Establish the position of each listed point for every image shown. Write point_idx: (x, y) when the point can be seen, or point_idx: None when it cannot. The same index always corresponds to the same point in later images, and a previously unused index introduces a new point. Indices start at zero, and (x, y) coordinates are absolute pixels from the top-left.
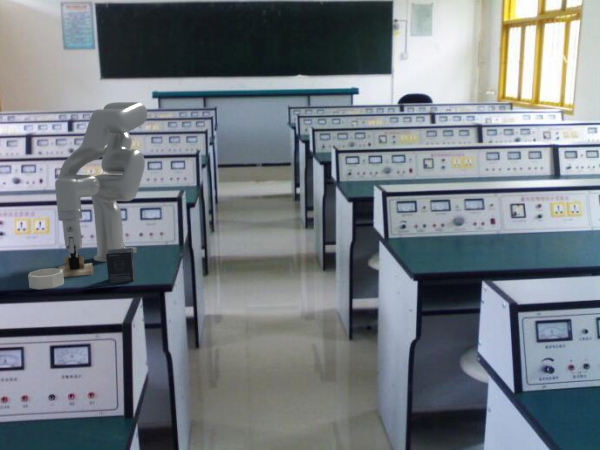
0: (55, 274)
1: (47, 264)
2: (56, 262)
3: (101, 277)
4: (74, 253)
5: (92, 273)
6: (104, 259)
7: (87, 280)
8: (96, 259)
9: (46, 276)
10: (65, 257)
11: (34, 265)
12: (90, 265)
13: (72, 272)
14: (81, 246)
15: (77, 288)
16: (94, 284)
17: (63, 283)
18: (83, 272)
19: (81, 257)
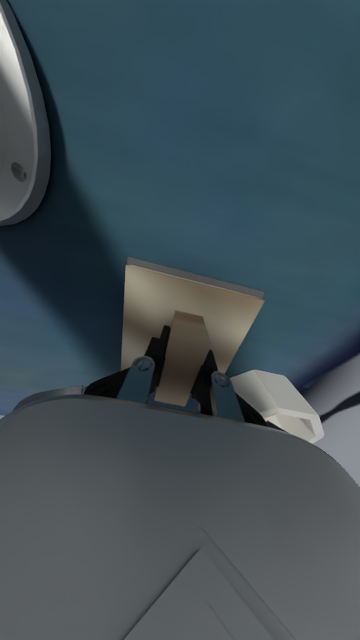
0: (320, 428)
1: (37, 366)
2: (15, 346)
3: (295, 265)
4: (277, 428)
5: (239, 289)
6: (22, 166)
7: (287, 317)
8: (12, 215)
9: (314, 441)
10: (165, 400)
11: (43, 386)
12: (168, 283)
13: (231, 357)
14: (246, 430)
15: (340, 356)
16: (356, 310)
17: (280, 378)
18: (248, 327)
19: (208, 350)
